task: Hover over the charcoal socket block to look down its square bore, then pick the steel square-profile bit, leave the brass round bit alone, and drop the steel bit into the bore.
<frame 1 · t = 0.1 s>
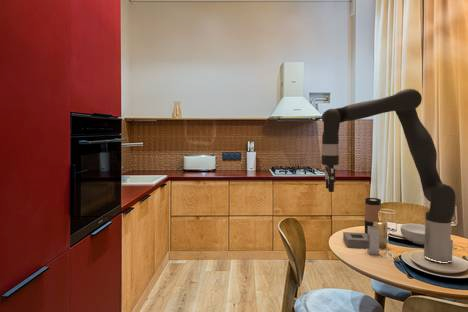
hand: (329, 190, 135), 29 cm above the table, tool pointing down, fingers open, 8 cm apart
round bit: (379, 246, 145), on the table
cereal bowl: (419, 242, 151), on the table
square bit: (372, 253, 137), on the table
travel mug: (372, 236, 159), on the table
socket block: (356, 244, 148), on the table
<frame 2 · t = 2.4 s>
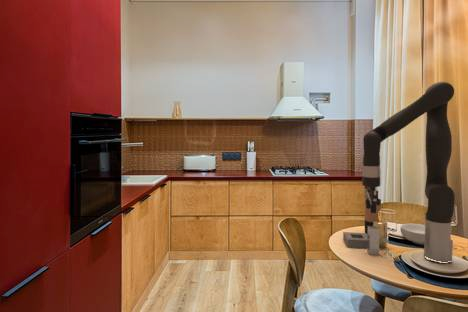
hand: (370, 210, 138), 19 cm above the table, tool pointing down, fingers open, 8 cm apart
nothing on the table moved.
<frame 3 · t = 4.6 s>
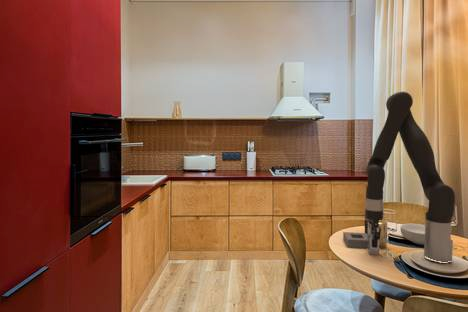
hand: (373, 245, 136), 4 cm above the table, tool pointing down, fingers closed on square bit, 4 cm apart
square bit: (372, 253, 137), on the table, touching gripper
everything else where it was.
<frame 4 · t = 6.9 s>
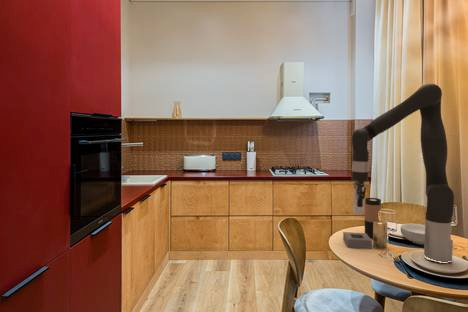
hand: (358, 205, 145), 20 cm above the table, tool pointing down, fingers closed on square bit, 4 cm apart
square bit: (358, 213, 146), point 16 cm above the table, touching gripper
everything else where it was.
when the fingers open (6 cm above the table, at t = 9.4 s): square bit drops 2 cm, resting in socket block.
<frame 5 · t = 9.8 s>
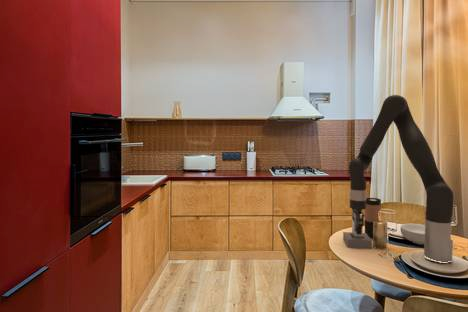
hand: (357, 231, 148), 6 cm above the table, tool pointing down, fingers open, 7 cm apart
square bit: (356, 244, 148), resting in socket block
everything else where it was.
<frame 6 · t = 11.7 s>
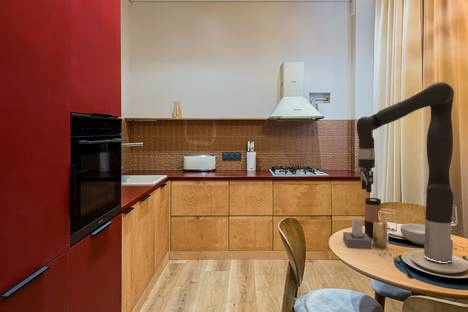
hand: (366, 190, 148), 26 cm above the table, tool pointing down, fingers open, 8 cm apart
nothing on the table moved.
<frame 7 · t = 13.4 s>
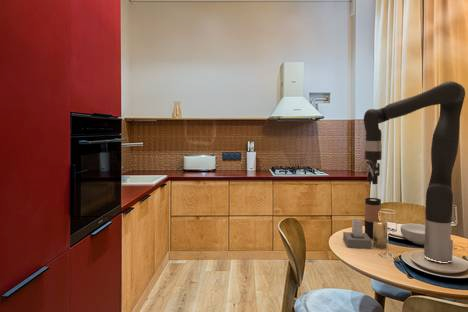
hand: (372, 182, 149), 30 cm above the table, tool pointing down, fingers open, 8 cm apart
nothing on the table moved.
at the end: square bit 0.1 cm off-centre on the socket block, point 0.0 cm above the socket block's base; square bit tilted 0°; round bit moved 0.0 cm from its start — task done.
